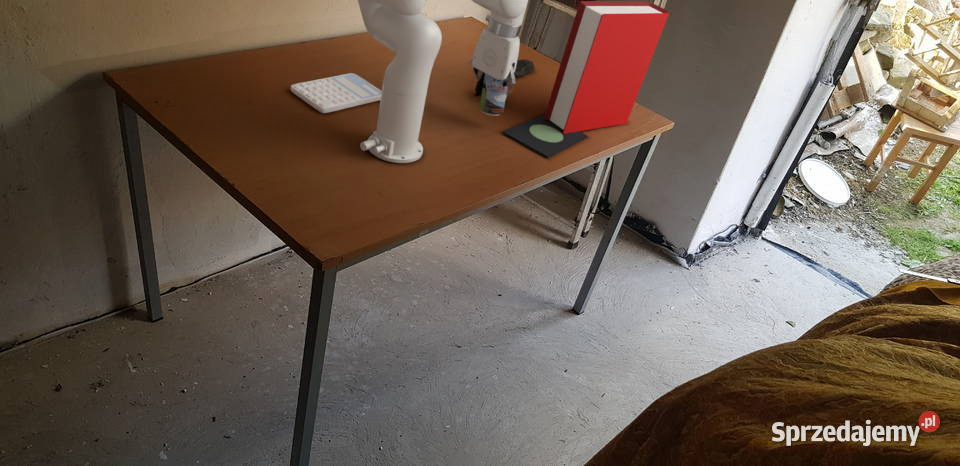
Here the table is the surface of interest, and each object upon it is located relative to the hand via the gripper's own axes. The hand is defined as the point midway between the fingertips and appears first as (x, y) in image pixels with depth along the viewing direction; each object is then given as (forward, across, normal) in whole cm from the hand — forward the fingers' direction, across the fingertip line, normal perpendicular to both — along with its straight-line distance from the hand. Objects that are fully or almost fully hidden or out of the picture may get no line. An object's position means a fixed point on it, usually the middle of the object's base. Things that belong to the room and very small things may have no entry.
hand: (485, 98), depth 174 cm
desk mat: (+7, +13, +12) cm, 19 cm away
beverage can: (+3, +2, 0) cm, 4 cm away
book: (+6, +15, +30) cm, 34 cm away
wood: (+7, -16, +36) cm, 40 cm away
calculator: (+8, -29, -21) cm, 37 cm away
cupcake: (+7, -7, +16) cm, 19 cm away
